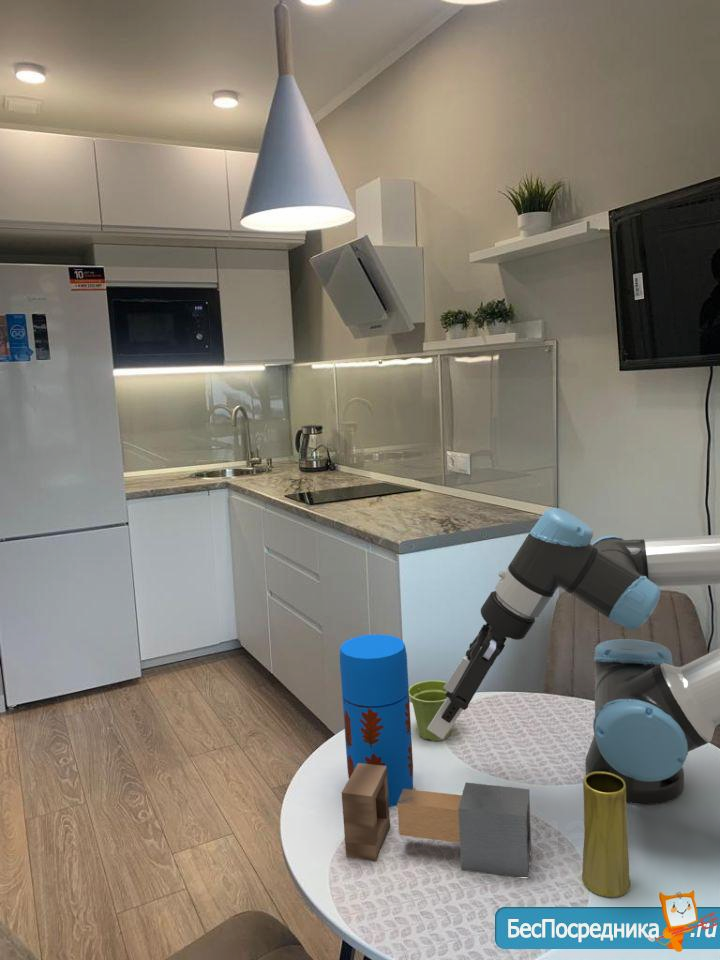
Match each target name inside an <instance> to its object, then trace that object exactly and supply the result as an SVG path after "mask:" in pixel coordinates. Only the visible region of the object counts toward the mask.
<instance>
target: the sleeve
mask: <svg viewBox="0 0 720 960" xmlns="http://www.w3.org/2000/svg"><path fill="white" fill-rule="evenodd" d="M461 795H462V797H461V801H460V804H459V808H458V811H459V832H460V843H459V850H460V852H459V853H460V869H461V871H468V872H474V873H481V874H489V875H497V876H502V877H509V876H510V878H516V877H528V878H529V874H528V872H530V865H529V862H530V863H531V856H530V853H531V854H532V832H531V829H532V828H531V827H532V826H531V799H530V798H531V797H530V796H531V795H530V789H529V788H520V787H512V786H511V787H510V786H503V785H502V786H501V785H492V784H485V783H484V784H483V783H475V782H465V783H464V786H463V790H462V794H461ZM527 828H528V837H527Z"/></svg>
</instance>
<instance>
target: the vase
mask: <svg viewBox="0 0 720 960" xmlns="http://www.w3.org/2000/svg"><path fill="white" fill-rule="evenodd" d="M582 782H583V783H582V786H583V787H582V788H583V791H582V792H583V828H584V832H583V833H584V834H583V852H582V872H581V881H582V883H583V884H584V886H585V887H586V888H587V889H588V890H589V891H591V892H592V893H594V894H596V895H598V896H601V897H605V898H618V897H621V896H622V897H623V896H624V895H626V894H627V893H628V892H629V891H630V890H631V889H630V888H631V883H632V882H631V879H630V860H629V859H630V858H629V843H628V825H627V823H628V822H627V802H626V784H625V781H624V780H623V779H622V778H621V777H619V776H617V775H615V774H613V773H609V772H603V771H597V772H592V773H589V774H587V775H586V774H585V776H584V778H583V781H582Z"/></svg>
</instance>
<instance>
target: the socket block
mask: <svg viewBox="0 0 720 960" xmlns="http://www.w3.org/2000/svg"><path fill="white" fill-rule="evenodd" d="M341 802H342V804H341V805H342V806H341V807H342V816H343V817H342V818H343V829H344V830H343V832H344V834H343V835H344V845H345V846H344V847H345V858H352V859H358V860H365V861H372V862H377V860H378V858H379V855H380V853H381V852H382V851H381V850H382V848H383V846H384V843H385V841H386V838H387V836H388V834H389V831H390V828H391V815H390V807H389V796H388V780H387V766H382V765H372V764H363V763H358V764H357V766H356V768H355V769H354V771H353V773H352V775H351V777H350V778H349V777H348V781H347V782H346V784H345V786H344V787H343V789H342V791H341Z"/></svg>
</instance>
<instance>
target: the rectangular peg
mask: <svg viewBox="0 0 720 960" xmlns="http://www.w3.org/2000/svg"><path fill="white" fill-rule="evenodd" d="M461 797H462V794H453V793H444V792H435V791H427V790H426V791H425V790H419V789H413V790H411V789H403V791H402V793H401V795H400V798H399V800H398V802H397V805H396V806H397V820H398V822H397V823H398V835H399V836H403V837H411V838H416V839H417V838H419V839H426V840H433V841H441V842H448V843H457V844H460V832H459V811H458V808H459V804H460V801H461ZM527 837H528V828H527Z"/></svg>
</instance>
